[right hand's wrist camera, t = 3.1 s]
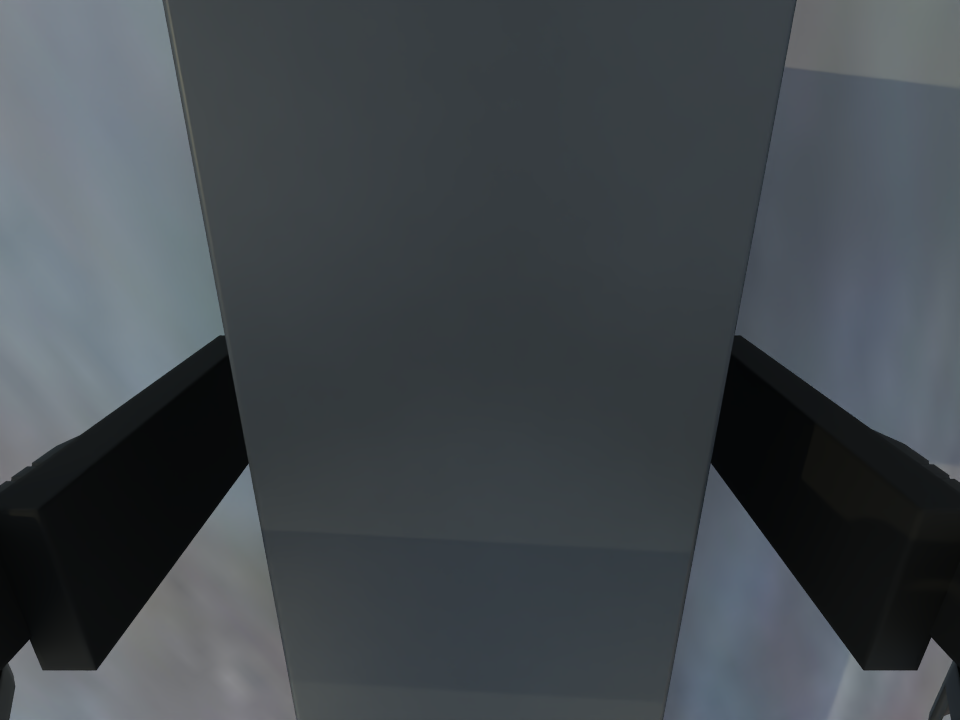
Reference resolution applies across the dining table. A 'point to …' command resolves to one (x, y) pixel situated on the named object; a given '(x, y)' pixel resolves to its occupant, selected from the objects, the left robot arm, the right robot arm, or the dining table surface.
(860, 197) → the dining table surface
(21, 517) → the right robot arm
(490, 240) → the beam
